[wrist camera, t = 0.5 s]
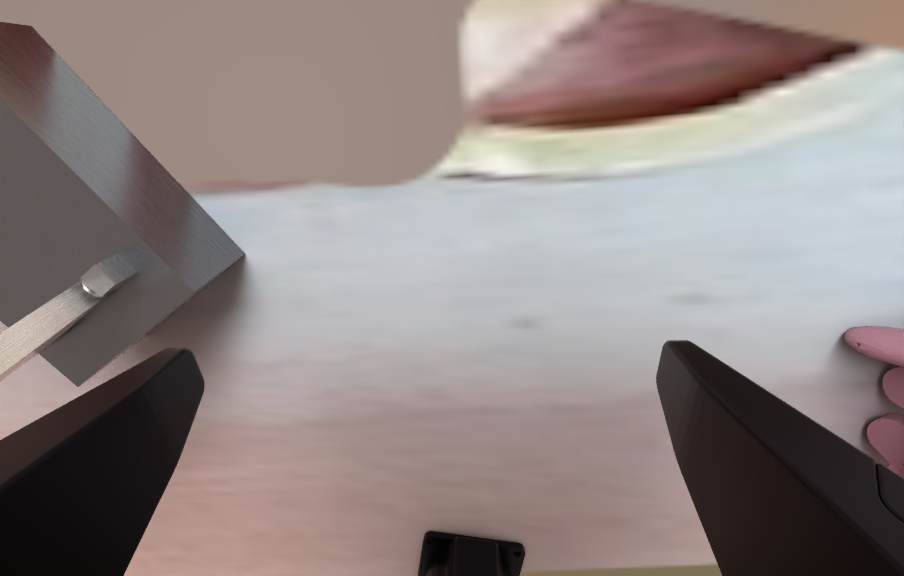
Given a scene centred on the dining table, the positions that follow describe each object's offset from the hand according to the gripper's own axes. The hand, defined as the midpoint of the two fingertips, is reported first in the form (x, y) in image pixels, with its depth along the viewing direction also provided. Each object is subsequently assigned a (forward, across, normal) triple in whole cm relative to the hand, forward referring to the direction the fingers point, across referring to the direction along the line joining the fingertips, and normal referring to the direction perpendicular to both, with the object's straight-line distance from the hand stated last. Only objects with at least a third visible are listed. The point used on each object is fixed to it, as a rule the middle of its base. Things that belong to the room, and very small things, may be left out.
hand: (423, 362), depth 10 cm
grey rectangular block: (+15, +18, +2) cm, 23 cm away
